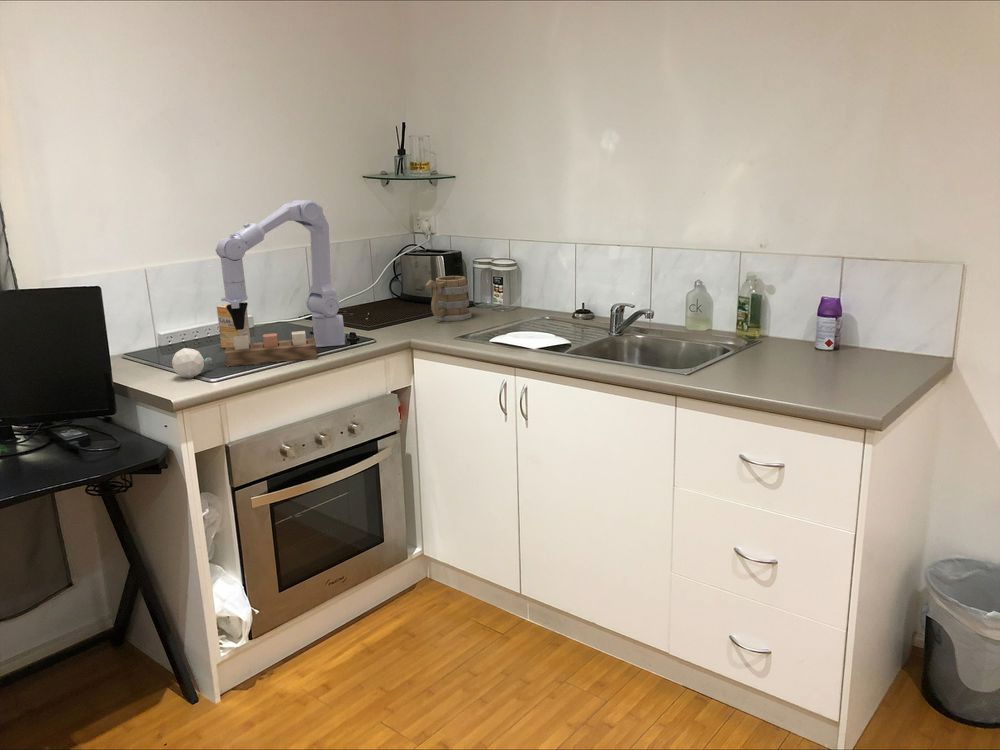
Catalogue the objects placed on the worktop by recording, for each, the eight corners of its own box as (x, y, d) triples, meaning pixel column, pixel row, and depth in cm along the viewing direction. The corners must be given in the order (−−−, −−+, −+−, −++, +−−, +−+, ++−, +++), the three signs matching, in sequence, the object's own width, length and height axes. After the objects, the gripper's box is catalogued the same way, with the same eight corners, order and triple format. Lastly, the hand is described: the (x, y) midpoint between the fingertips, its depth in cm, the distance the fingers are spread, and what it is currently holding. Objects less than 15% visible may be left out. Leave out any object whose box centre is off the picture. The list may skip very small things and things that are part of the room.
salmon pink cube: (278, 345, 235) (276, 333, 234) (278, 348, 232) (276, 335, 231) (264, 346, 234) (263, 334, 233) (264, 349, 231) (262, 337, 230)
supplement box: (220, 348, 249) (215, 306, 245) (232, 344, 253) (227, 303, 250) (240, 350, 245) (235, 307, 242) (252, 347, 249) (247, 305, 246)
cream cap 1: (249, 348, 233) (248, 335, 232) (249, 351, 230) (247, 338, 229) (235, 349, 232) (234, 336, 232) (235, 352, 229) (233, 339, 228)
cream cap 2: (306, 343, 237) (305, 330, 236) (306, 346, 234) (305, 333, 233) (292, 344, 236) (291, 332, 235) (293, 347, 233) (291, 334, 232)
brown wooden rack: (315, 351, 242) (314, 337, 240) (317, 358, 232) (316, 345, 231) (228, 358, 236) (226, 345, 235) (226, 366, 226) (224, 353, 225)
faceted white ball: (160, 365, 215) (194, 360, 226) (179, 386, 213) (213, 379, 224) (172, 343, 212) (206, 339, 223) (191, 363, 210) (225, 358, 221)
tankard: (450, 312, 293) (448, 271, 288) (477, 316, 285) (476, 273, 281) (413, 323, 277) (410, 279, 273) (441, 326, 270) (439, 282, 266)
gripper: (221, 278, 232) (226, 325, 235) (217, 286, 218) (223, 335, 222) (246, 277, 233) (251, 323, 237) (244, 284, 220) (250, 333, 223)
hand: (239, 329), depth 230 cm, fingers closed
